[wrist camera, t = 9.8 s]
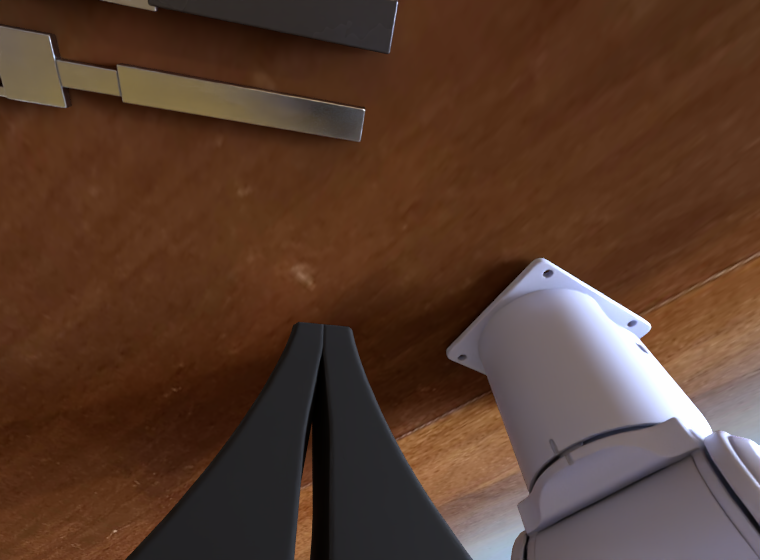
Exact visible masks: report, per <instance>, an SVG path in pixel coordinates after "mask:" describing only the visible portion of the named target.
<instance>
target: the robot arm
mask: <svg viewBox="0 0 760 560" xmlns="http://www.w3.org/2000/svg"><path fill="white" fill-rule="evenodd" d="M546 270H549V272H547V273H545V274H543V273H544V272H545V271H546ZM650 329H651V325H650V324H649V323H648V322H647V321H646V320H645V319H643V318H641V317H640V316H638V315H637V314H635V313H633V312H632V311H630V310H628V309H627V308H625V307H623V306H622V305H620V304H618V303H617V302H615V301H614V300H612V299H610V298H609V297H607V296H605V295H604V294H602V293H600V292H599V291H597V290H595V289H594V288H592V287H591V286H589V285H587V284H586V283H584V282H582V281H581V280H579V279H577V278H576V277H574V276H572V275H571V274H569V273H568V272H566V271H564V270H563V269H561V268H559V267H558V266H556V265H554V264H553V263H551V262H549V261H548V260H546V259H544V258H538V259H535V260H534V261H532V262H531V263H530V264H529V265H528V266H527V267H526V268H525V269H524V270H523V271H522V272H521V273H520V274H519V275H518V276H517V278H516V279H515V280H514V281H513V282H512V283H511V284H510V285H509V286H508V287H507V288H506V289H505V290H504V291H503V292H502V293H501V294H500V295H499V296H498V297H497V298H496V299H495V300H494V301H493V302H492V303H491V304H490V305H489V306H488V307H487V308H486V309H485V310H484V311H483V312H482V313H481V314H480V315H479V316H478V317H477V319H476V320H475V321H474V322H473V323H472V324H471V325H470V326H469V327H468V328H467V329H466V330H465V331H464V332H463V333H462V334H461V335H460V336H459V337H458V338H457V339H456V340H455V341H454V342H453V343H452V344H451V345H450V346H449V347H448V348H447V350H446V354H447V357H448V358H449V359H450V360H452V361H455V362H457V363H459V364H462V365H464V366H466V367H469V368H471V369H473V370H476V371H478V372H480V373H483V374H485V375H487V378H488V381H489V384H490V386H491V389H492V392H493V395H494V397H495V400H496V403H497V406H498V409H499V411H500V414H501V417H502V420H503V422H504V425H505V428H506V431H507V433H508V436H509V439H510V442H511V445H512V447H513V450H514V453H515V456H516V458H517V461H518V464H519V467H520V470H521V472H522V475H523V478H524V481H525V483H526V486H527V489H528V492H529V494H530V495H529V496H528V497H527V498H526V499H524V500H523V501H521V502H520V503H518V505H517V506H518V509H519V512H520V515H521V518H522V521H523V524H524V527H525V531H523V532H521V533H520V534H519V536H518V537H517V538H516V540H515V542H514V545H513V548H512V555H511V560H760V446H759V445H757V444H756V443H755V442H753V441H752V440H750V439H746V438H742V437H738V436H733V435H732V436H731V435H730V434H728V433H726V432H723V431H715V432H713V433H712V431H711V428H710V426H709V424H708V423H707V421H706V419H705V418H704V416H703V415H702V414H701V412H700V411H699V410H698V409H697V408H696V406H695V405H694V404H693V403H692V402H691V400H690V399H689V398H688V397H687V396H686V394H685V393H684V392H683V391H682V390H681V388H680V387H679V386H678V385H677V384H676V382H675V381H674V380H673V379H672V378H671V376H670V375H669V374H668V373H667V372H666V370H665V369H664V368H663V367H662V366H661V364H660V363H659V362H658V361H657V360H656V358H655V357H654V356H653V355H652V354H651V353H650V351H649V350H648V349H647V348H646V347H645V345H644V344H643V343H642V342H641V341H640V338H641V337H642V336H644V335H645V334H646V333H648V332H649V331H650ZM460 355H463V356H460ZM311 424H312V478H313V519H312V541H311V554H310V560H473V559H472V558H471V557H470V555H469V554H468V553H467V551H466V550H465V549H464V547H463V546H462V544H461V543H460V541H459V540H458V539H457V537H456V536H455V534H454V533H453V531H452V530H451V529H450V527H449V526H448V524H447V523H446V521H445V520H444V519H443V517H442V516H441V514H440V513H439V512H438V510H437V509H436V507H435V506H434V504H433V503H432V501H431V500H430V498H429V496H428V495H427V493H426V492H425V490H424V489H423V487H422V485H421V484H420V482H419V481H418V479H417V477H416V476H415V474H414V472H413V471H412V469H411V467H410V465H409V464H408V462H407V460H406V459H405V457H404V455H403V453H402V451H401V450H400V448H399V446H398V444H397V442H396V440H395V438H394V437H393V435H392V433H391V431H390V429H389V427H388V425H387V423H386V421H385V418H384V416H383V414H382V412H381V410H380V408H379V406H378V403H377V401H376V399H375V396H374V394H373V392H372V389H371V387H370V384H369V382H368V380H367V377H366V374H365V372H364V369H363V366H362V363H361V360H360V358H359V354H358V351H357V348H356V344H355V340H354V336H353V331H352V330H351V329H350V328H349V327H346V326H335V325H325V324H314V323H303V322H298V323H296V324H294V325H293V328H292V331H291V334H290V337H289V339H288V342H287V344H286V347H285V349H284V351H283V353H282V355H281V357H280V359H279V361H278V363H277V365H276V367H275V368H274V370H273V372H272V373H271V375H270V377H269V379H268V380H267V382H266V384H265V386H264V387H263V389H262V391H261V392H260V394H259V396H258V397H257V399H256V400H255V402H254V403H253V405H252V406H251V408H250V409H249V411H248V412H247V414H246V415H245V417H244V418H243V420H242V421H241V423H240V424H239V426H238V427H237V428H236V430H235V431H234V433H233V434H232V435H231V437H230V438H229V440H228V441H227V442H226V444H225V445H224V446H223V448H222V449H221V450H220V452H219V453H218V454H217V455H216V457H215V458H214V459H213V461H212V462H211V463H210V464H209V466H208V467H207V468H206V469H205V471H204V472H203V473H202V474H201V475H200V477H199V478H198V479H197V480H196V481H195V483H194V484H193V485H192V486H191V487H190V489H189V490H188V491H187V492H186V493H185V495H184V496H183V497H182V498H181V499H180V501H179V502H178V503H177V504H176V505H175V506H174V507H173V509H172V510H171V511H170V512H169V513H168V514H167V515H166V517H165V518H164V519H163V520H162V521H161V522H160V523H159V524H158V525H157V526H156V527H155V529H154V530H153V531H152V532H151V533H150V534H149V535H148V536H147V537H146V538H145V539H144V540H143V541H142V542H141V543H140V545H139V546H138V547H137V548H136V549H135V550H134V551H133V552H132V553H131V554H130V555H129V556H128V557H127V558H126V559H125V560H294V554H295V542H296V531H297V519H298V508H299V497H300V485H301V479H302V473H303V468H304V462H305V457H306V451H307V446H308V440H309V435H310V430H311Z"/></svg>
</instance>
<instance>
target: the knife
mask: <svg viewBox="0 0 760 560" xmlns="http://www.w3.org/2000/svg"><path fill="white" fill-rule="evenodd" d="M101 1H106V2H110V3H115V4H120V5H125V6H130V7H135V8H140V9H145V10H150V11H155V12H156V11H158V7H159V8H164V9H169V10H174V11H179V12H184V13H188V14H193V15H198V16H203V17H208V18H213V19H218V20H223V21H228V22H233V23H238V24H243V25H247V26H252V27H257V28H262V29H267V30H272V31H277V32H282V33H287V34H292V35H297V36H301V37H306V38H311V39H316V40H321V41H326V42H331V43H336V44H341V45H346V46H351V47H356V48H360V49H365V50H370V51H375V52H380V53H385V54H389V53H390V48H391V42H392V36H393V31H394V25H395V19H396V13H397V8H398V1H397V0H101Z"/></svg>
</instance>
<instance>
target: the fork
mask: <svg viewBox="0 0 760 560" xmlns="http://www.w3.org/2000/svg"><path fill="white" fill-rule="evenodd" d="M0 78H1V81H2V84H0V96H4V97H7V98H8V99H12V100H19V101H25V102H31V103H37V104H43V105H50V106H56V107H62V108H68V107H70V106H72V104H71V99H70V95H69V91H68V88H72V89H78V90H84V91H90V92H96V93H102V94H108V95H114V96H119V97H121V96H122V101H123V102H124V103H128V104H134V105H140V106H146V107H152V108H158V109H164V110H170V111H176V112H182V113H188V114H194V115H200V116H206V117H212V118H218V119H224V120H230V121H236V122H242V123H248V124H254V125H260V126H266V127H272V128H278V129H284V130H290V131H296V132H302V133H308V134H314V135H320V136H326V137H332V138H338V139H344V140H350V141H356V142H360V141H361V135H362V129H363V122H364V116H365V107H361V106H356V105H350V104H345V103H339V102H334V101H328V100H323V99H317V98H311V97H306V96H300V95H295V94H289V93H284V92H278V91H273V90H267V89H262V88H256V87H251V86H245V85H240V84H234V83H228V82H223V81H217V80H212V79H206V78H201V77H195V76H190V75H184V74H179V73H173V72H168V71H162V70H157V69H151V68H146V67H140V66H134V65H129V64H123V63H121V64H117V68H113V67H107V66H102V65H96V64H90V63H85V62H79V61H74V60H68V59H61V57H60V53H59V48H58V44H57V40H56V36H55V34H52V33H46V32H41V31H36V30H30V29H25V28H20V27H14V26H9V25H4V24H0Z"/></svg>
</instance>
